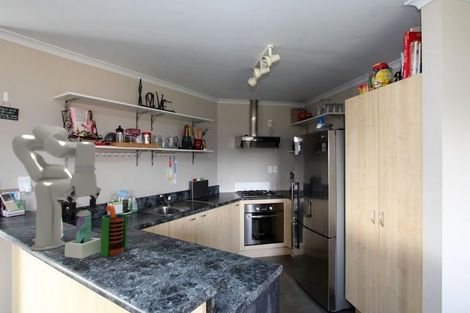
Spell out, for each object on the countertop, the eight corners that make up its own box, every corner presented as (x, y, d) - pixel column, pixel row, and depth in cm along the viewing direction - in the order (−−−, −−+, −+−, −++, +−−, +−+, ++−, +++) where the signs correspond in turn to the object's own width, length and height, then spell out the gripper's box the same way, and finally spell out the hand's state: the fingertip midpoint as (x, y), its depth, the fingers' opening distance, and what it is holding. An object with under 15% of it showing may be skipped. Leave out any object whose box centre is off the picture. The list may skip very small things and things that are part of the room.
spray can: (84, 251, 109) (85, 205, 110) (93, 252, 106) (94, 206, 107) (72, 255, 103) (73, 207, 104) (81, 256, 101) (82, 208, 102)
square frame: (64, 256, 102) (64, 243, 102) (84, 249, 111) (84, 237, 111) (81, 258, 99) (82, 244, 99) (100, 251, 108) (101, 238, 108)
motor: (113, 257, 100) (114, 208, 101) (95, 255, 102) (95, 207, 103) (129, 249, 110) (129, 204, 111) (111, 248, 112) (112, 204, 113)
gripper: (94, 169, 116) (93, 206, 116) (58, 170, 100) (56, 212, 99) (107, 170, 114) (105, 207, 113) (72, 170, 97) (70, 214, 97)
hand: (83, 209), depth 106 cm, fingers open, 9 cm apart
